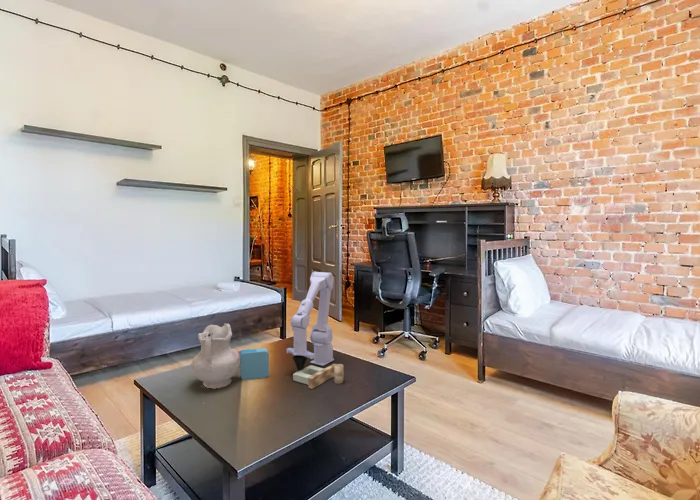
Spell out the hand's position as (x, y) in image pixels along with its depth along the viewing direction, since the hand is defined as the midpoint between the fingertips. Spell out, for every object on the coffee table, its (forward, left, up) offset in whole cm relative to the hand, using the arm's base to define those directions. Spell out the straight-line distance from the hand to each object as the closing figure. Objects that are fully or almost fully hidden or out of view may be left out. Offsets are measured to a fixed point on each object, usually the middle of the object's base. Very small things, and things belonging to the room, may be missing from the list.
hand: (300, 371), depth 170 cm
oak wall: (-1, +12, -2) cm, 12 cm away
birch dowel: (-4, +18, -2) cm, 19 cm away
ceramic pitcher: (+26, -24, -2) cm, 35 cm away
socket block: (0, +6, -2) cm, 6 cm away
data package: (+12, -16, -2) cm, 20 cm away
